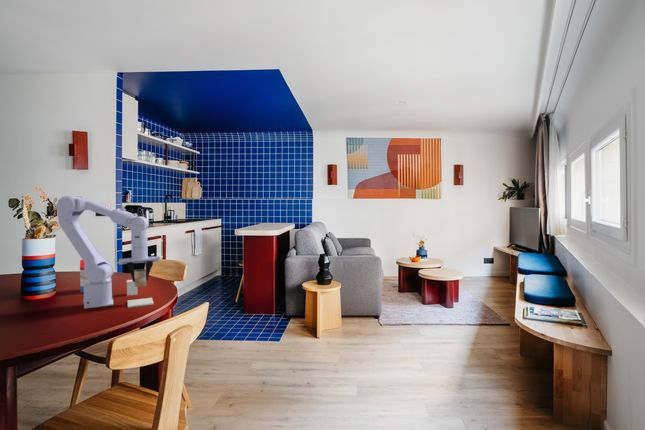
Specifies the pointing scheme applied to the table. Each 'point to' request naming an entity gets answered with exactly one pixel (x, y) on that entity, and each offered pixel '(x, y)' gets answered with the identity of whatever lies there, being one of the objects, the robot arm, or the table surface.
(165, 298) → the table surface
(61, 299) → the table surface
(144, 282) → the labelled block
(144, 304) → the sage pad
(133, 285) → the grey block
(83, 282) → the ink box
